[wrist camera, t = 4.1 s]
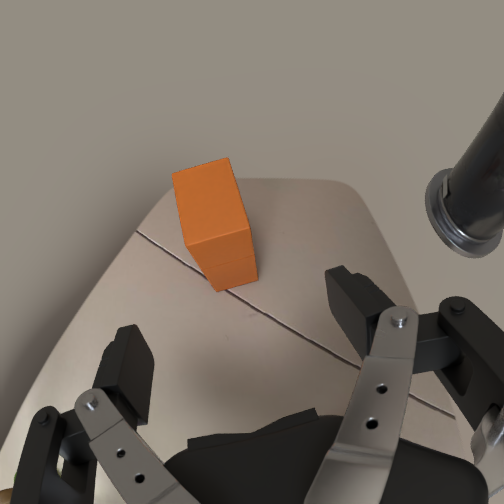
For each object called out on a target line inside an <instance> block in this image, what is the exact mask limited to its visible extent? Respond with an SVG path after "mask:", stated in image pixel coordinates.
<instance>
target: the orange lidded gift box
mask: <svg viewBox="0 0 504 504" xmlns="http://www.w3.org/2000/svg"><path fill="white" fill-rule="evenodd" d="M172 179H173V185H174V190H175V196H176V201H177V207H178V212H179V217H180V222H181V227H182V232H183V237H184V242H185V246H186V248H187V249H188V251H189V252H190V254H191V255H192V257H193V258H194V260H195V261H196V263H197V264H198V266H199V267H200V269H201V270H202V272H203V273H204V275H205V276H206V278H207V279H208V281H209V282H210V284H211V285H212V286H213V288H214V289H215V291H216V292H218V291H222V290H226V289H229V288H233V287H236V286H240V285H243V284H247V283H250V282H254V281H257V280H258V274H257V267H256V261H255V254H254V248H253V241H252V234H251V228H250V224H249V221H248V218H247V215H246V212H245V208H244V205H243V202H242V199H241V196H240V192H239V189H238V186H237V183H236V180H235V177H234V174H233V170H232V167H231V164H230V161H229V158H223V159H220V160H216V161H212V162H209V163H206V164H202V165H199V166H195V167H192V168H188V169H185V170H182V171H179V172H176V173H173V174H172Z"/></svg>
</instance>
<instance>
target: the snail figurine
mask: <svg viewBox="0 0 504 504" xmlns="http://www.w3.org/2000/svg"><path fill="white" fill-rule="evenodd" d="M16 473H17V472H16ZM15 477H16V474H15ZM15 477H14V481H15ZM12 490H13V488H9V489H5V490H1V491H0V504H10V500H11V495H12Z"/></svg>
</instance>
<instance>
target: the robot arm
mask: <svg viewBox="0 0 504 504" xmlns="http://www.w3.org/2000/svg"><path fill="white" fill-rule="evenodd" d="M438 204H439V208H440V211H441V213H442V216H443V218H444V220H445V221H446V223H447V224H448V226H449V227H450V228H451V230H452V231H453V232H454V233H455V234H456V235H457V236H459V237H460V238H461V239H463V240H465V241H467V242H469V243H472V244H477V245H479V244H484V243H487V242H488V241H490V240H491V239H492V238H494V237H495V236H496V234H497V233H499V232H500V231H501V230H502V229H504V93H503V95H502V96H501V98H500V100H499V101H498V103H497V105H496V106H495V108H494V110H493V111H492V113H491V115H490V116H489V117H488V119H487V121H486V122H485V124H484V125H483V127H482V128H481V130H480V131H479V133H478V134H477V136H476V137H475V139H474V140H473V142H472V143H471V145H470V146H469V147H468V149H467V150H466V152H465V153H464V155H463V156H462V157H461V159H460V160H459V162H458V163H457V164H456V166H455V167H454V168H453V170H452V171H451V172H450V174H449V175H448V176H447V175H446V176H445V177H444V179H443V182H442V183H441V185H440V187H439V190H438ZM325 280H326V287H327V294H328V301H329V306H330V309H331V312H332V314H333V316H334V318H335V319H336V321H337V322H338V324H339V325H340V327H341V328H342V330H343V331H344V333H345V334H346V336H347V337H348V339H349V341H350V342H351V344H352V345H353V347H354V348H355V350H356V351H357V353H358V354H359V356H360V357H361V359H362V361H363V363H362V366H361V370H360V373H359V376H358V379H357V382H356V385H355V388H354V391H353V393H352V396H351V399H350V402H349V405H348V407H347V410H346V413H345V415H344V416H337V415H322V416H318V415H317V412H316V410H315V408H312V409H309V410H305V411H302V412H299V413H296V414H293V415H289V416H286V417H283V418H281V419H279V420H277V421H275V422H273V423H271V424H269V425H267V426H265V427H263V428H261V429H259V430H257V431H255V432H252V433H237V434H213V435H208V436H202V437H197V438H191V439H187V442H188V448H187V449H185V450H183V451H181V452H179V453H177V454H176V455H174V456H173V457H171V458H170V459H169V460H168V461H166V462H165V463H164V462H163V461H162V460H161V459H160V458H159V457H158V456H157V455H156V454H155V452H154V451H153V450H152V449H151V448H150V447H149V446H148V444H147V443H146V442H145V441H144V440H143V439H142V437H141V436H140V435H139V434H138V433H137V432H136V430H137V426H140V425H147V424H148V415H149V405H150V396H151V388H152V380H153V372H154V358H153V355H152V352H151V350H150V348H149V347H148V345H147V343H146V341H145V339H144V337H143V335H142V334H141V332H140V330H139V328H138V326H137V325H135V324H133V325H129V326H125V327H121V328H118V330H117V333H116V336H115V339H114V341H112V342H110V344H109V345H108V346H107V347H106V349H105V350H104V353H103V356H102V360H101V362H100V365H99V368H98V371H97V374H96V377H95V380H94V383H93V386H92V389H89V390H87V391H85V392H84V393H82V394H81V395H80V396H79V397H78V399H77V400H76V402H75V407H74V408H75V409H72V410H70V411H67V412H65V413H62V414H60V413H59V412H58V411H57V409H56V408H54V407H52V406H47V407H44V408H42V409H40V410H39V411H38V412H37V413H36V414H35V415H34V417H33V419H32V422H31V425H30V428H29V431H28V434H27V437H26V440H25V444H24V447H23V451H22V454H21V458H20V461H19V465H18V469H17V473H16V477H15V481H14V486H13V490H12V495H11V500H10V504H94V490H95V478H96V468H97V460H98V461H99V463H100V465H101V466H102V468H103V469H104V471H105V473H106V474H107V476H108V477H109V479H110V480H111V482H112V483H113V485H114V486H115V488H116V489H117V491H118V492H119V494H120V495H121V496H122V498H123V499H124V501H125V502H126V503H127V504H488V500H489V498H490V497H492V496H493V495H495V494H496V493H498V492H499V491H500V490H502V489H503V488H504V332H503V331H502V330H501V329H500V328H499V327H498V326H497V325H496V324H495V323H494V322H493V321H492V320H491V319H490V318H488V316H487V315H485V314H484V313H483V312H482V311H481V310H480V309H479V308H478V307H477V306H476V305H475V304H473V303H472V302H471V301H470V300H468V299H466V298H463V297H459V296H455V297H449V298H446V299H444V300H443V301H442V302H441V303H440V305H439V312H434V313H429V314H422V315H418V314H417V312H416V311H415V310H413V309H411V308H409V307H406V306H396V305H395V304H394V303H393V302H392V301H391V300H390V299H389V298H388V296H387V295H386V294H385V293H384V292H383V291H382V290H380V289H379V287H377V286H376V285H374V283H373V282H372V281H371V280H370V279H369V278H368V277H367V276H365V275H362V274H360V273H355V274H351V273H350V272H349V271H348V270H347V269H346V268H345V267H344V266H343V265H341V266H338V267H335V268H332V269H329V270H326V271H325ZM428 371H434V373H435V374H436V376H437V377H438V378H439V380H440V381H441V383H442V384H443V385H444V387H445V388H446V390H447V391H448V393H449V394H450V395H451V397H452V398H453V400H454V401H455V403H456V404H457V406H458V407H459V409H460V410H461V412H462V413H463V415H464V416H465V418H466V419H467V421H468V422H469V424H470V425H471V427H472V428H473V430H474V432H475V433H474V435H473V437H472V439H471V450H472V453H473V456H474V465H473V464H472V463H470V462H468V461H466V460H464V459H461V458H458V457H455V456H451V455H448V454H445V453H442V452H439V451H436V450H433V449H430V448H427V447H424V446H421V445H419V444H416V443H413V442H410V441H408V440H405V439H402V438H400V432H401V428H402V424H403V419H404V415H405V410H406V405H407V400H408V395H409V389H410V384H411V378H412V374H417V373H422V372H428ZM59 455H60V456H61V457H63V458H64V463H63V469H62V474H61V478H60V476H59V475H58V473H57V462H58V457H59Z"/></svg>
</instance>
